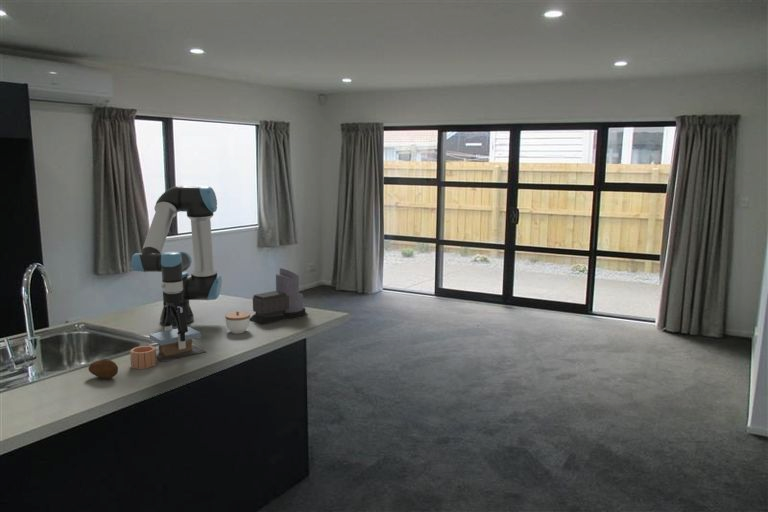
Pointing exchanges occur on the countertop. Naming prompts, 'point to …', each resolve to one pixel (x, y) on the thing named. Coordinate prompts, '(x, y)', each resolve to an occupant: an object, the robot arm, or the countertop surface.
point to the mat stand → (177, 351)
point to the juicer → (279, 300)
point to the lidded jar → (237, 321)
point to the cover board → (173, 336)
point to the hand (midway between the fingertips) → (175, 345)
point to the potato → (104, 368)
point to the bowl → (143, 357)
